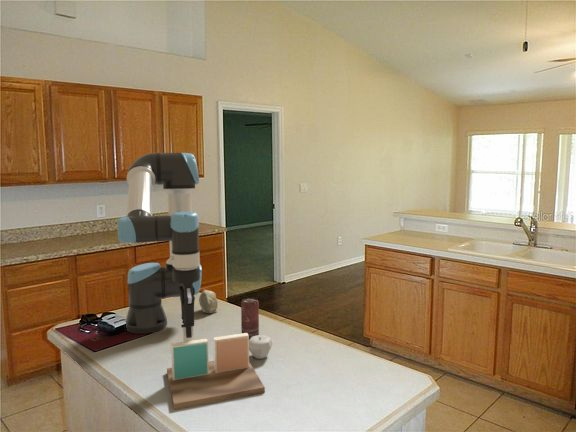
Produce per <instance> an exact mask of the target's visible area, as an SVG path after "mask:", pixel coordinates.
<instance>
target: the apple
mask: <svg viewBox="0 0 576 432" xmlns="http://www.w3.org/2000/svg"><path fill="white" fill-rule="evenodd" d="M272 345H273V341H272V339H271V338H270V337H269V336H268V335H264V334H259V335H257V336H252V337H251V339H250V340H249V353H250V355H252V357H254V358H255V359H256V360H257V359H258V360H262V359H265V358H266V357H268V354H269V353H270V351H271V349H272Z"/></svg>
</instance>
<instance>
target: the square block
mask: <svg viewBox="0 0 576 432" xmlns="http://www.w3.org/2000/svg"><path fill="white" fill-rule="evenodd" d="M170 346H171V349H170V351H171V353H170V355H171V368H172V378H173V380H178V379H184V378H190V377H196V376H202V375H207V374H209V363H208V362H209V341H208V339H207V338H201V339H193V340H192V341H185V342H183V341H180V342H173V343H170Z"/></svg>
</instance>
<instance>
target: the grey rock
mask: <svg viewBox="0 0 576 432" xmlns="http://www.w3.org/2000/svg"><path fill="white" fill-rule="evenodd" d="M198 297H199V298H198V302H199V306H200V309H201V310H202V312H203V313H205V314H212V313H216V312H218V311H217V309H218V299H217V294H216V293H215V292H214V291H212V290H207V289H203V290H202V292H201V293H200V295H199V296H198Z"/></svg>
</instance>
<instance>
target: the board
mask: <svg viewBox="0 0 576 432" xmlns="http://www.w3.org/2000/svg"><path fill="white" fill-rule="evenodd" d="M208 363H209V374H207V375H202V376H196V377H190V378H184V379H178V380H173V378H172V367H167V368H166V374H167V379H168V380H167V381H168V385H169V390H170V394H171V400H172V405H173V410H180V409H185V408H189V407H195V406H200V405H201V406H202V405H205V404H206V405H207V404H210V403H214V402H215V403H216V402H221V401H226V400H231V399H236V398H241V397H246V396H252V395H257V394H262V393H265V391H266V390H265V388H266V386H265V385H264V384H263V382H262V380H261V378H260V377H259V375H258V374H257V372H256V370H255V369H254V367H253V366H252V363H251V362H250V361H249V368H243V369H237V370H231V371H225V372H219V373H215V370H214V360H211V361H208Z"/></svg>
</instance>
